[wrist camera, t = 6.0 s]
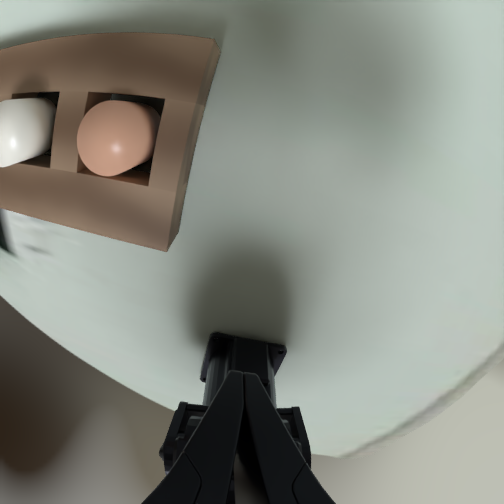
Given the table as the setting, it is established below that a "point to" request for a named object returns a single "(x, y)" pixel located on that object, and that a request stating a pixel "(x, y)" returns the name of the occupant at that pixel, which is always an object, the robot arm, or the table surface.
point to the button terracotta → (117, 136)
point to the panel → (86, 97)
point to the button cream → (25, 129)
